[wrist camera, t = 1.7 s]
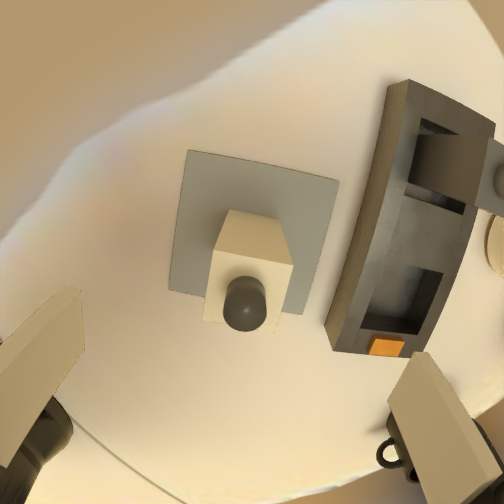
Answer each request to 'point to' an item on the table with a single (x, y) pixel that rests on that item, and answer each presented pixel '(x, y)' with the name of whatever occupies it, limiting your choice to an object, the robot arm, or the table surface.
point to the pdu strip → (403, 234)
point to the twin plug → (461, 169)
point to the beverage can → (496, 245)
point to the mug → (401, 452)
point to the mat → (255, 202)
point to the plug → (248, 273)
